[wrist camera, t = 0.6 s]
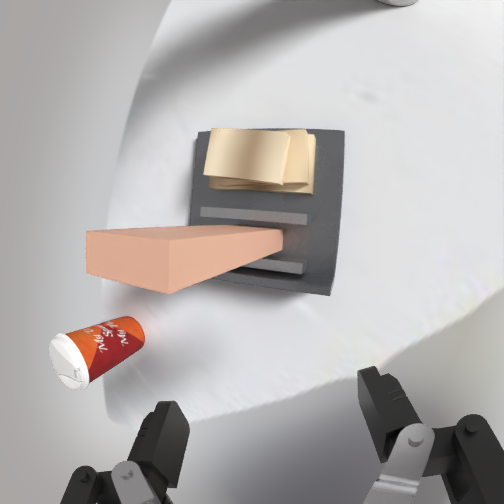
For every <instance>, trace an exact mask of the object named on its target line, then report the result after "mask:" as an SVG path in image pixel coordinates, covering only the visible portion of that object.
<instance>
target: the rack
mask: <svg viewBox="0 0 504 504" xmlns="http://www.w3.org/2000/svg"><path fill="white" fill-rule="evenodd" d="M250 130H266V131H280V130H299V129H250ZM306 131H307V133H308V134H314V136H315V138H316V146H315V167H314V184H313V195H310V194H296V193H281V192H263V191H240V190H214V189H210V188H209V178H210V176H206V175H203V174H204V168H205V162H206V156H207V151H208V145H209V140H210V134H211V131H206V132H198V139H197V148H196V158H195V168H194V179H193V191H192V204H191V219H190V226H205V225H244V226H256V227H267V228H277V229H284V233H283V245H282V250H281V251H278V252H276V253H273V254H271V255H268V256H266V257H263V258H261V259H258V260H255V261H253V262H250V263H248V264H245V265H243V266H240V267H238V268H235V269H232V270H230V271H227V272H225V273H222V274H220V275H217V276H214V277H212V278H213V279H219V280H225V281H231V282H237V283H244V284H250V285H256V286H263V287H269V288H276V289H283V290H290V291H297V292H304V293H311V294H318V295H326V296H330V294H331V291H332V287H333V283H334V277H335V269H336V260H337V251H338V242H339V231H340V220H341V207H342V192H343V174H344V145H345V131H340V130H323V129H306Z"/></svg>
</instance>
